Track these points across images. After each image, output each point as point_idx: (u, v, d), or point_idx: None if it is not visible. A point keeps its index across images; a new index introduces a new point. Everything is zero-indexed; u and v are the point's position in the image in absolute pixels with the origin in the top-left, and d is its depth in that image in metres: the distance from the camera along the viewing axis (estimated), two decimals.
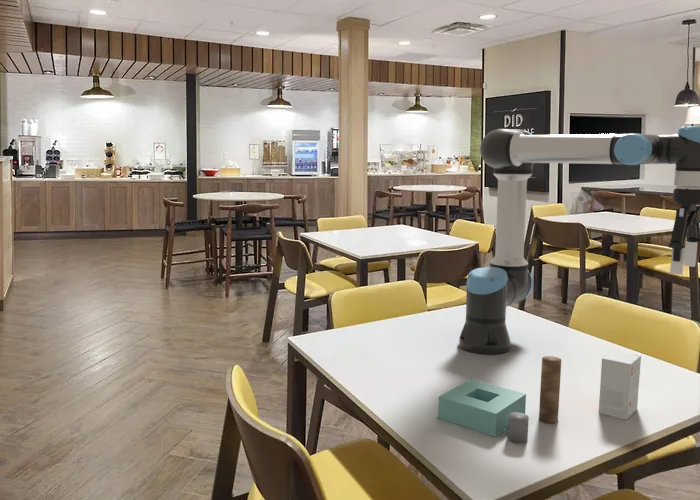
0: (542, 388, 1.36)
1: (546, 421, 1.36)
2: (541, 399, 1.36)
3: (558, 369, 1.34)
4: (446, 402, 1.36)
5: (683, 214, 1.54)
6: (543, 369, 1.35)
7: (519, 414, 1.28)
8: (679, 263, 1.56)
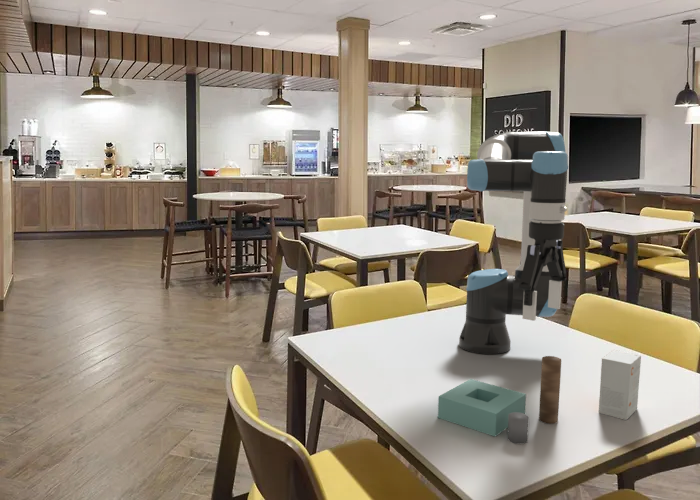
0: (542, 388, 1.36)
1: (546, 421, 1.36)
2: (541, 399, 1.36)
3: (558, 369, 1.34)
4: (446, 402, 1.36)
5: (534, 252, 1.35)
6: (543, 369, 1.35)
7: (519, 414, 1.28)
8: (531, 308, 1.37)
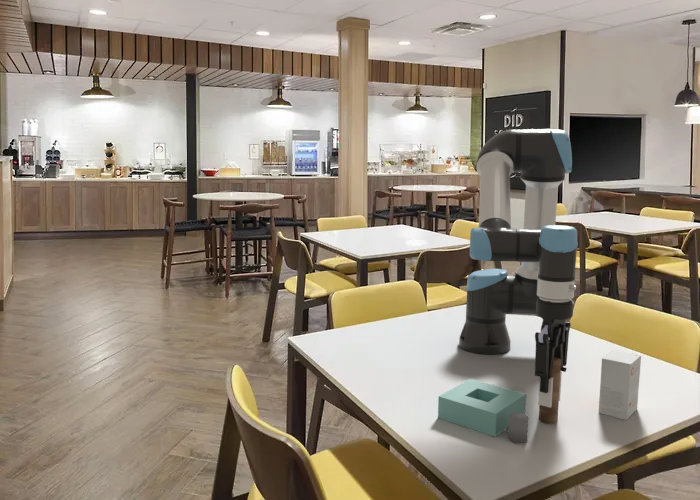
0: None
1: (546, 421, 1.36)
2: None
3: (558, 369, 1.34)
4: (446, 402, 1.36)
5: (543, 341, 1.29)
6: None
7: (519, 414, 1.28)
8: (547, 394, 1.34)
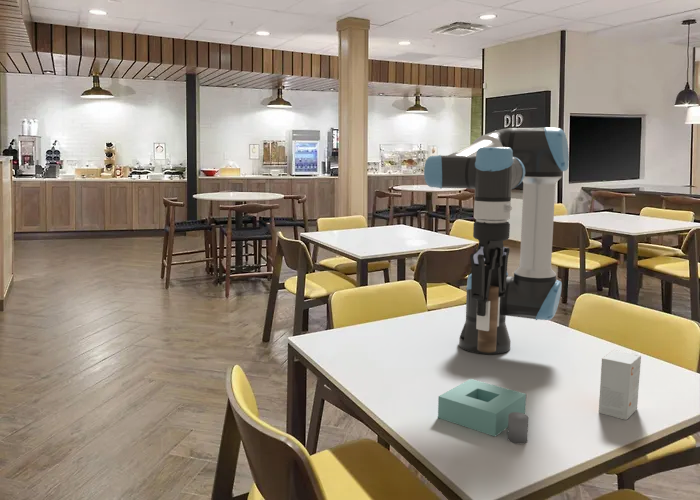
0: None
1: (484, 350, 1.35)
2: None
3: (495, 296, 1.33)
4: (446, 402, 1.36)
5: (478, 262, 1.28)
6: None
7: (519, 414, 1.28)
8: (484, 318, 1.33)
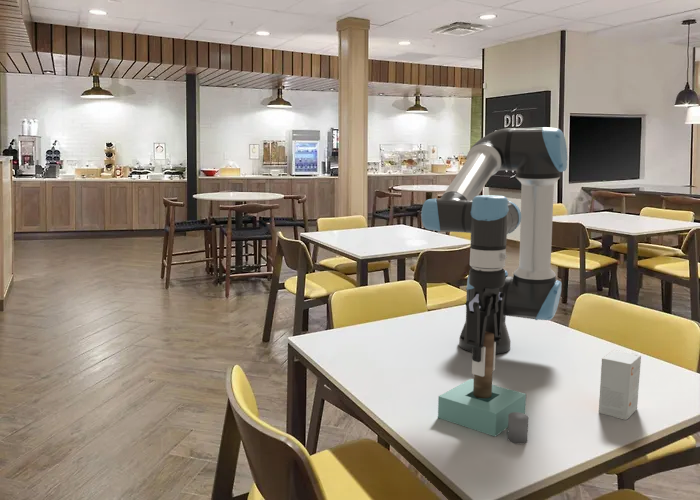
0: None
1: (479, 396, 1.37)
2: None
3: (490, 344, 1.35)
4: (446, 402, 1.36)
5: (473, 309, 1.30)
6: None
7: (519, 414, 1.28)
8: (480, 363, 1.35)
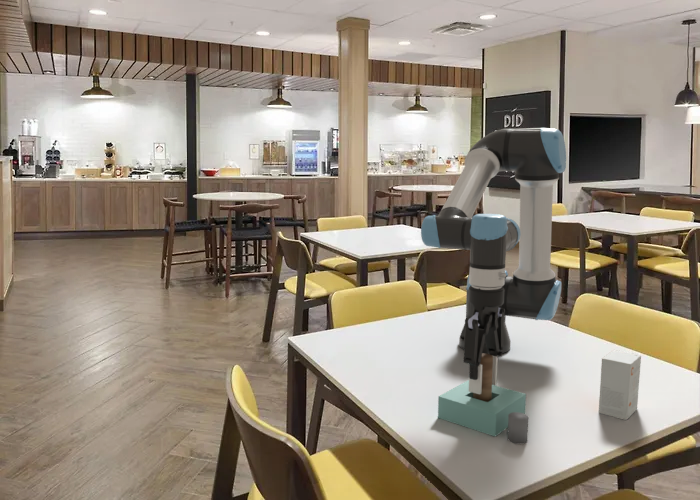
0: None
1: None
2: (474, 395, 1.38)
3: (489, 366, 1.36)
4: (446, 402, 1.36)
5: (472, 327, 1.31)
6: None
7: (519, 414, 1.28)
8: (477, 381, 1.34)
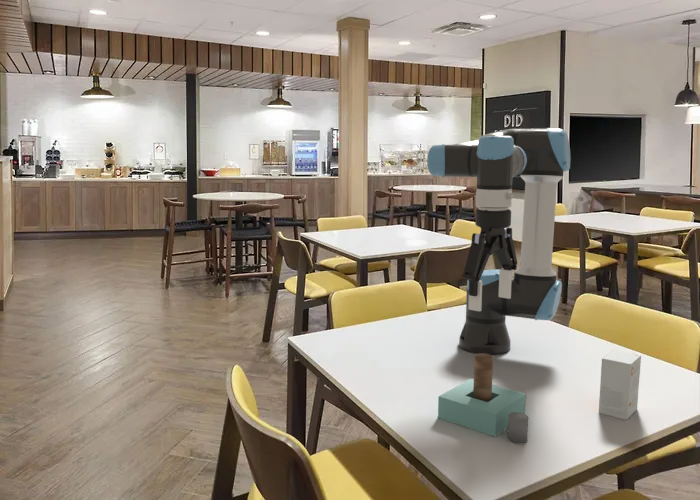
0: (475, 385, 1.37)
1: None
2: (474, 395, 1.38)
3: (489, 366, 1.36)
4: (446, 402, 1.36)
5: (478, 241, 1.30)
6: (475, 366, 1.37)
7: (519, 414, 1.28)
8: (476, 298, 1.32)
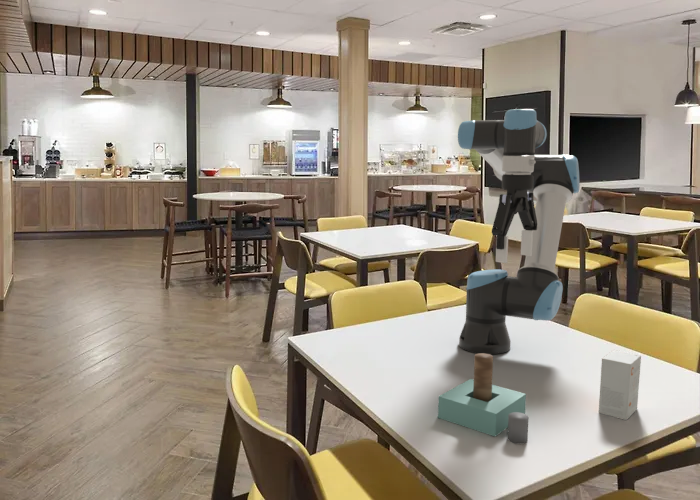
0: (475, 385, 1.37)
1: None
2: (474, 395, 1.38)
3: (489, 366, 1.36)
4: (446, 402, 1.36)
5: (505, 200, 1.49)
6: (475, 366, 1.37)
7: (519, 414, 1.28)
8: (503, 251, 1.50)
